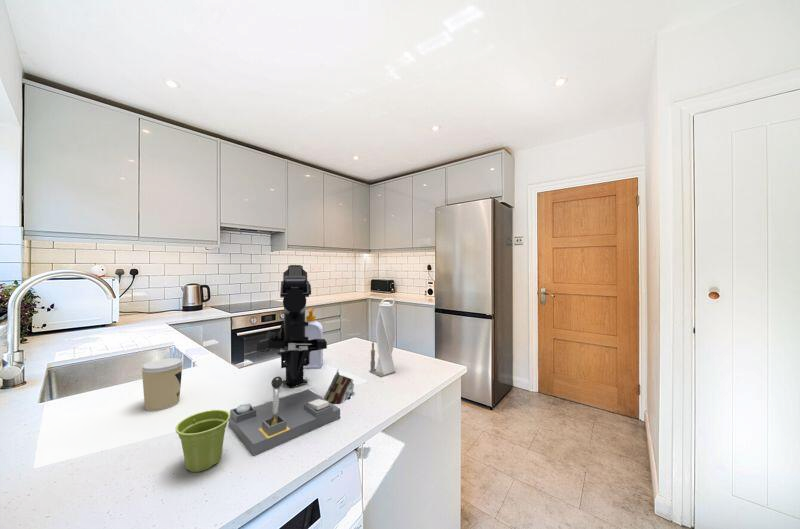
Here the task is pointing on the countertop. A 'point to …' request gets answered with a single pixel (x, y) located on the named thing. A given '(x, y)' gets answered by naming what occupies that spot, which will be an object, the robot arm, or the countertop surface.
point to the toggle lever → (276, 399)
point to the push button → (243, 409)
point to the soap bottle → (312, 332)
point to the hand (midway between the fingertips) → (294, 378)
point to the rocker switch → (318, 404)
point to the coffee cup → (162, 383)
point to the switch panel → (280, 421)
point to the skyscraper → (384, 340)
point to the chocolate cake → (339, 389)
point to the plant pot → (203, 438)
